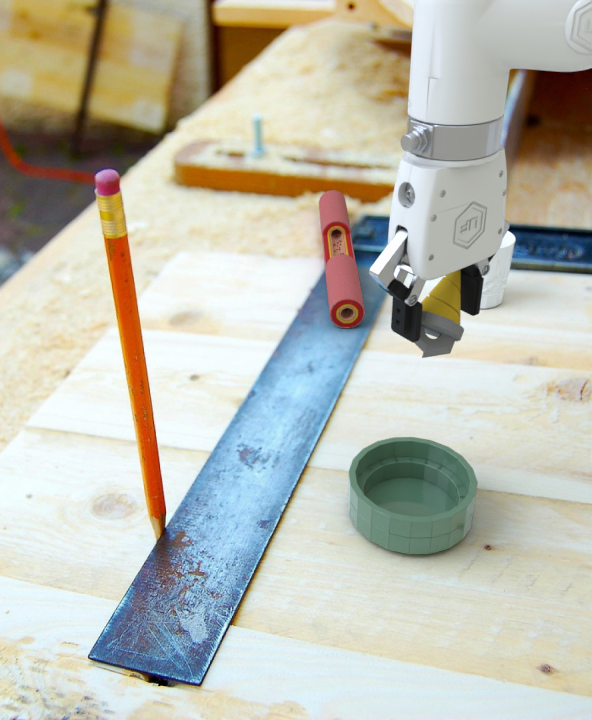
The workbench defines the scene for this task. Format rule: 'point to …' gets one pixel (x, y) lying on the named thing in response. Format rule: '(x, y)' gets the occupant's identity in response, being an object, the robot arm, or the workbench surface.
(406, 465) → the bowl
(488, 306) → the white cup
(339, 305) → the blood vessel
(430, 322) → the drill bit
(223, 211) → the workbench surface
